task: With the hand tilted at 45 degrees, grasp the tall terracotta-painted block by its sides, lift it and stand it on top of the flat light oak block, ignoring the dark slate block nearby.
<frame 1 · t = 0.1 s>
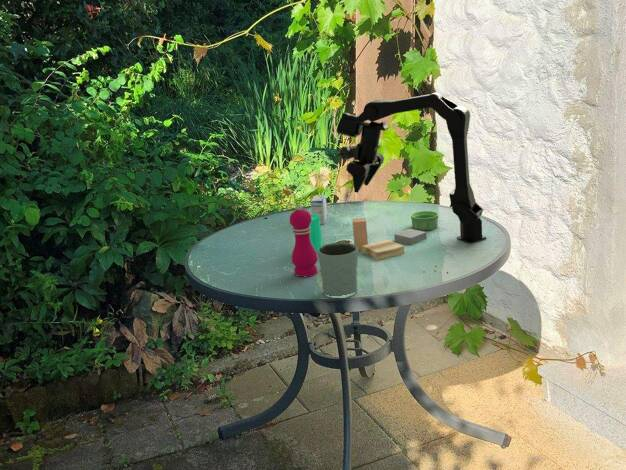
hand: (361, 188, 215), 15 cm above the table, tool pointing down, fingers open, 9 cm apart
medicine box: (320, 222, 240), on the table
candle: (313, 250, 210), on the table
ramekin: (425, 227, 222), on the table
oak block: (383, 254, 201), on the table
plant pot: (341, 293, 173), on the table
pepper mill: (306, 274, 190), on the table
terracotta block: (361, 248, 207), on the table
slate block: (410, 240, 210), on the table
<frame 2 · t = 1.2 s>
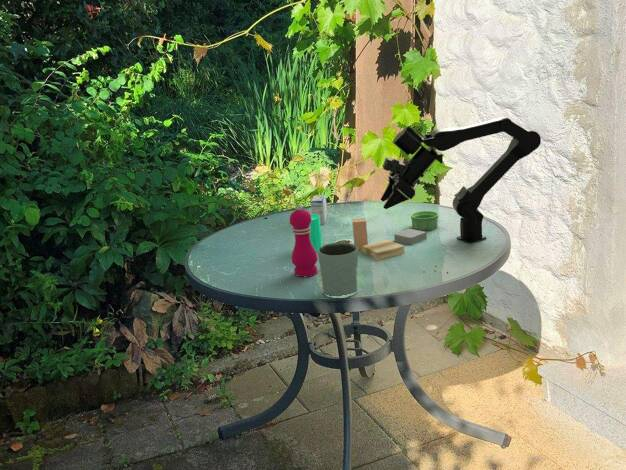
hand: (383, 204, 202), 13 cm above the table, tool tilted 45°, fingers open, 9 cm apart
nothing on the table moved.
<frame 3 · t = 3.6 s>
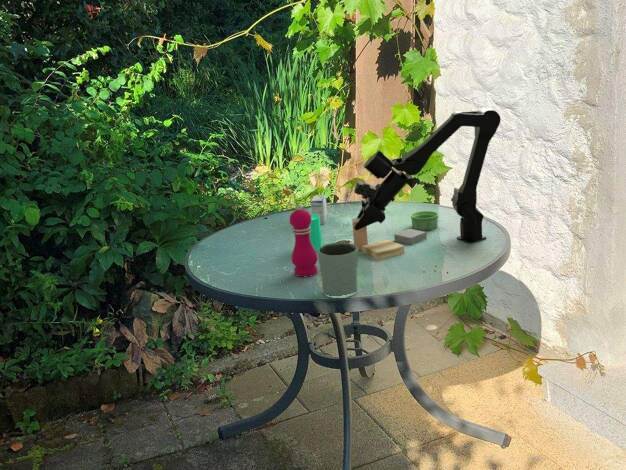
hand: (354, 227, 205), 7 cm above the table, tool tilted 45°, fingers closed on terracotta block, 4 cm apart
terracotta block: (361, 248, 207), on the table, touching gripper
everything else where it was.
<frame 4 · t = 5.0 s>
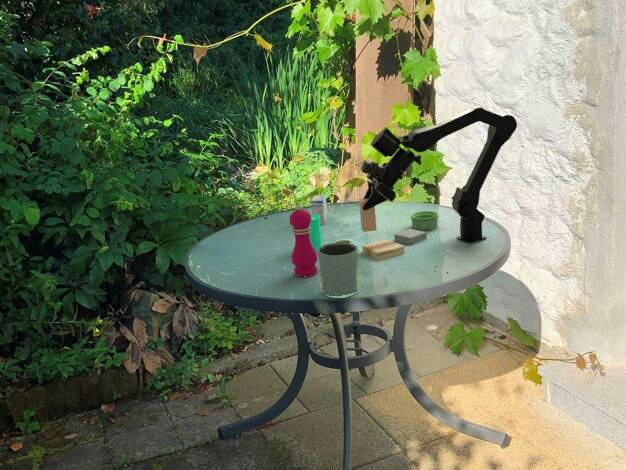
hand: (362, 207, 200), 13 cm above the table, tool tilted 45°, fingers closed on terracotta block, 4 cm apart
terracotta block: (368, 229, 202), point 7 cm above the table, touching gripper
everything else where it was.
when the fingers open (10 cm above the table, at t = 6.8 s): terracotta block stays where it is, point 2 cm above the table.
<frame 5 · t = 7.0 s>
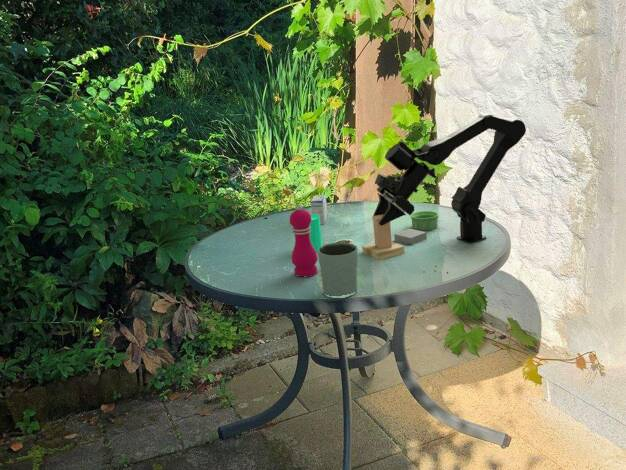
hand: (376, 221, 198), 10 cm above the table, tool tilted 45°, fingers open, 6 cm apart
terracotta block: (383, 245, 200), point 2 cm above the table
everything else where it was.
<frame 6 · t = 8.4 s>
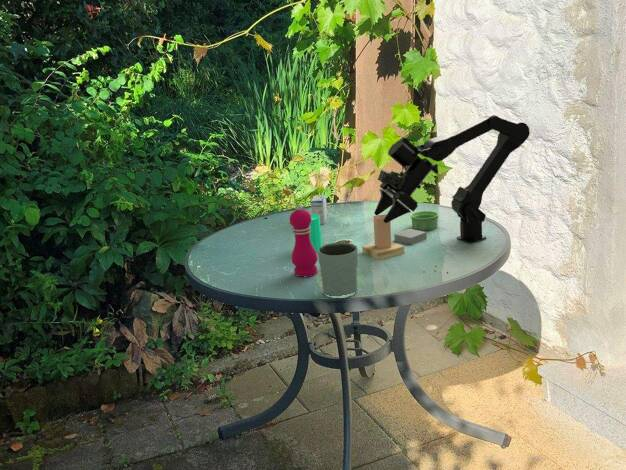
hand: (379, 218, 198), 11 cm above the table, tool tilted 45°, fingers open, 9 cm apart
oak block: (383, 254, 201), on the table, touching terracotta block
terracotta block: (382, 246, 200), point 2 cm above the table, touching oak block
everything else where it was.
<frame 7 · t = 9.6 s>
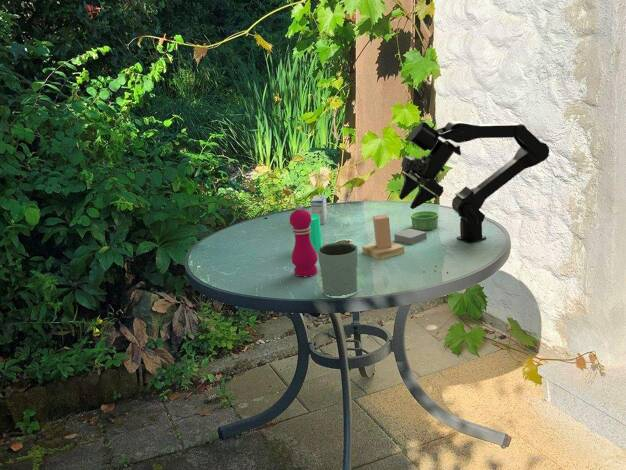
hand: (405, 203, 200), 13 cm above the table, tool tilted 40°, fingers open, 9 cm apart
nothing on the table moved.
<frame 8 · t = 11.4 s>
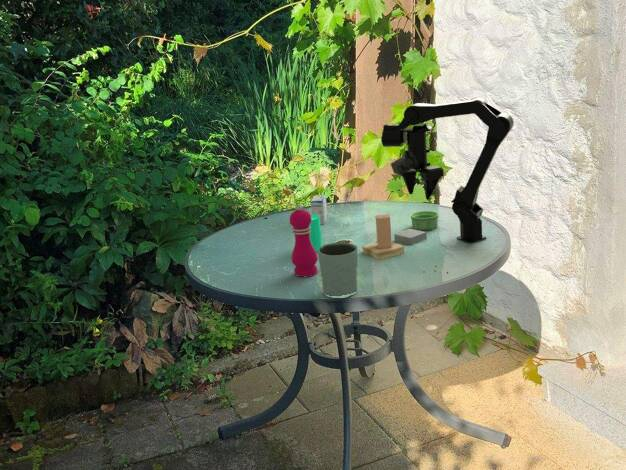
hand: (419, 196, 208), 13 cm above the table, tool pointing down, fingers open, 9 cm apart
oak block: (383, 254, 201), on the table
terracotta block: (384, 245, 200), point 2 cm above the table
everything else where it was.
at the end: terracotta block inside the target area on the oak block (0.4 cm from its centre), point 2.5 cm above the oak block's base; terracotta block tilted 1°; the gripper is holding nothing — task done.
